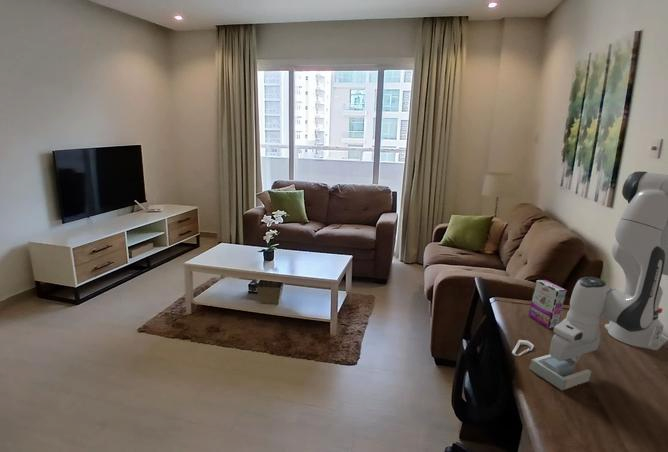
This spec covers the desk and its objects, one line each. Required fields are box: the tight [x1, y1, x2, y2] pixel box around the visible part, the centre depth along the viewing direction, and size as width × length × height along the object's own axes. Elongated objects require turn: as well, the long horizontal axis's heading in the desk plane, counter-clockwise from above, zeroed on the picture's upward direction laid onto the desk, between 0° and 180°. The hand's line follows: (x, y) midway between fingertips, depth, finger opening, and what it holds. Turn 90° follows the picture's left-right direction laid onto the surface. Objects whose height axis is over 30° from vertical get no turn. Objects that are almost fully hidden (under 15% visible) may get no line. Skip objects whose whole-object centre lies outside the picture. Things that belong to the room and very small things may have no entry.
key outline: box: [511, 339, 535, 357], centre depth 142 cm, size 13×5×2 cm, turn 143°
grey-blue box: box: [543, 358, 576, 377], centre depth 127 cm, size 8×5×6 cm, turn 117°
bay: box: [529, 353, 592, 391], centre depth 128 cm, size 13×11×4 cm
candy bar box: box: [528, 279, 568, 329], centre depth 162 cm, size 11×5×16 cm, turn 17°
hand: (570, 365), depth 130 cm, fingers closed
